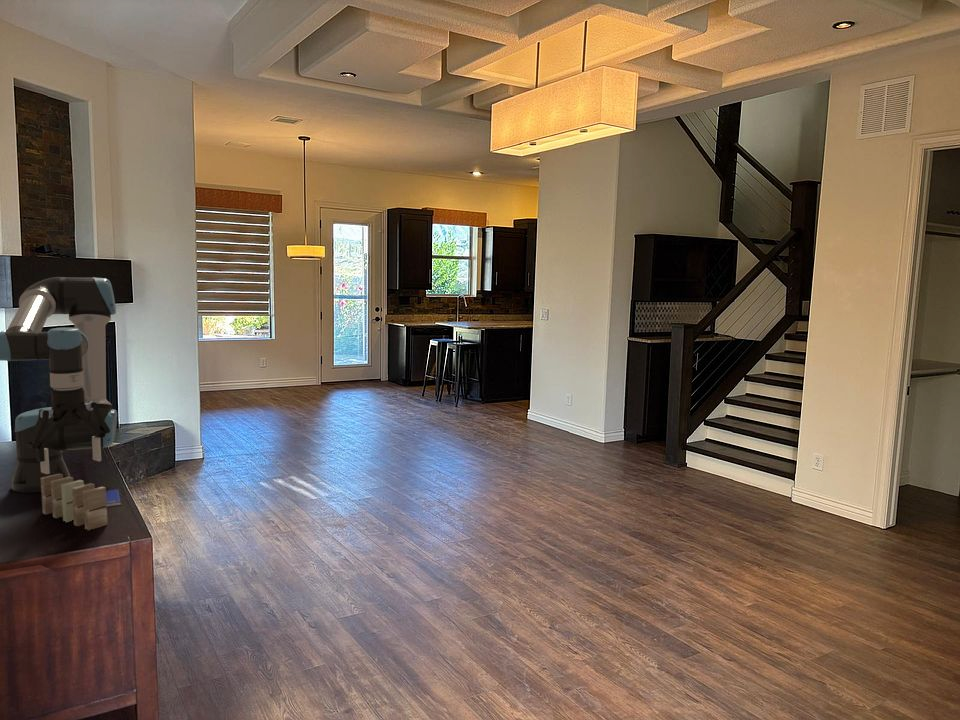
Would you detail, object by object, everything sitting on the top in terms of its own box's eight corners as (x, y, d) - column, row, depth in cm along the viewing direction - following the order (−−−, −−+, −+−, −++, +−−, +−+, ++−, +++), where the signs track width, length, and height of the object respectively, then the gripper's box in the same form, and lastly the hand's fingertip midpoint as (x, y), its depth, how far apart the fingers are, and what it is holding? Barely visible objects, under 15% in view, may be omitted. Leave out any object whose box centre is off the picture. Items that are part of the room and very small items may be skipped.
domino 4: (73, 525, 183) (72, 487, 181) (92, 519, 187) (91, 483, 186) (77, 526, 182) (75, 489, 181) (96, 520, 186) (94, 484, 185)
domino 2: (52, 517, 188) (50, 481, 187) (71, 511, 192) (69, 476, 191) (56, 518, 187) (54, 482, 186) (75, 513, 191) (73, 477, 190)
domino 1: (42, 513, 190) (40, 477, 189) (61, 508, 195) (59, 473, 193) (46, 514, 190) (43, 478, 188) (64, 509, 194) (62, 474, 192)
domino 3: (63, 521, 185) (61, 484, 184) (82, 515, 190) (80, 479, 188) (66, 522, 185) (64, 485, 183) (85, 516, 189) (83, 480, 187)
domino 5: (84, 529, 180) (83, 491, 179) (103, 523, 185) (102, 486, 183) (88, 530, 179) (86, 492, 178) (107, 524, 184) (105, 487, 182)
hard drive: (120, 501, 199) (118, 489, 209) (87, 505, 194) (86, 492, 205) (120, 506, 199) (118, 494, 209) (87, 511, 195) (87, 497, 205)
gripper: (24, 397, 170) (29, 481, 173) (121, 382, 191) (125, 457, 194) (7, 393, 174) (13, 475, 177) (105, 379, 195) (109, 453, 198)
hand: (72, 466), depth 186 cm, fingers open, 13 cm apart
